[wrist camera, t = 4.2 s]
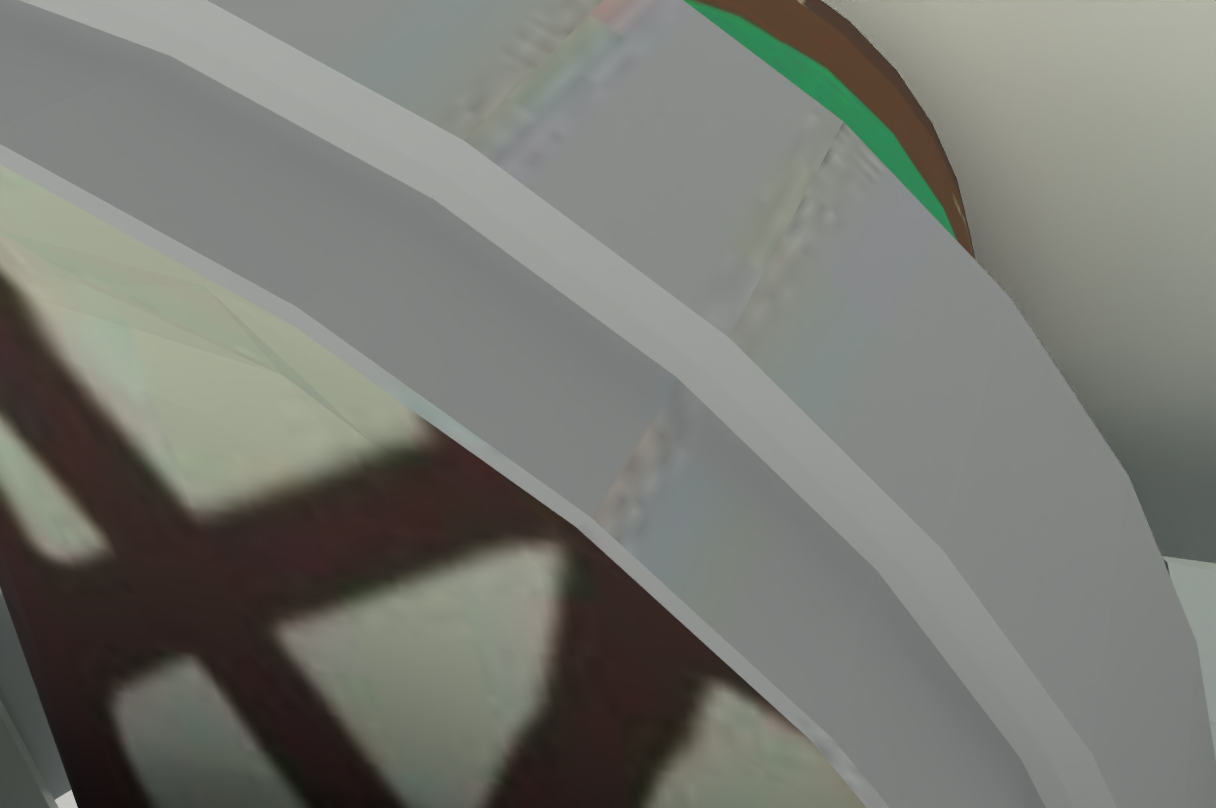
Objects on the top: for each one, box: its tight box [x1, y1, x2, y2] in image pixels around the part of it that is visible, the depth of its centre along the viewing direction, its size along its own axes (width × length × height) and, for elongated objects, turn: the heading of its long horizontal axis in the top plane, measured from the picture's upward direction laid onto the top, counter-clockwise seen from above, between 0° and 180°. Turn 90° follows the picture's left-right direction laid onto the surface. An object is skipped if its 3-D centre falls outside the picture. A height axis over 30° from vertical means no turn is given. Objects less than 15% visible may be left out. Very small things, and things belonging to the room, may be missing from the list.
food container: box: [0, 0, 1216, 808], centre depth 9 cm, size 12×6×10 cm, turn 9°
